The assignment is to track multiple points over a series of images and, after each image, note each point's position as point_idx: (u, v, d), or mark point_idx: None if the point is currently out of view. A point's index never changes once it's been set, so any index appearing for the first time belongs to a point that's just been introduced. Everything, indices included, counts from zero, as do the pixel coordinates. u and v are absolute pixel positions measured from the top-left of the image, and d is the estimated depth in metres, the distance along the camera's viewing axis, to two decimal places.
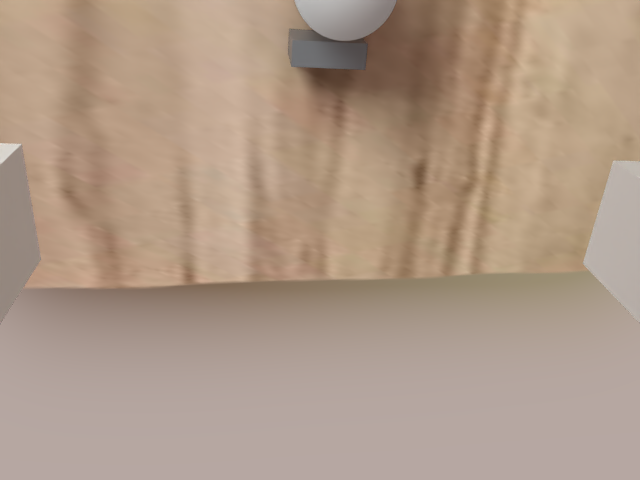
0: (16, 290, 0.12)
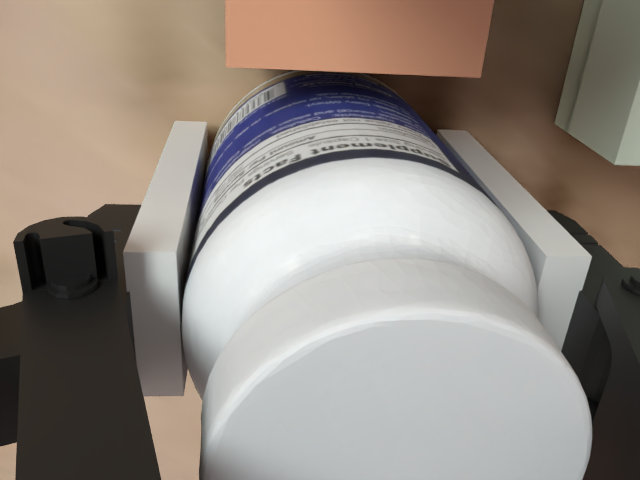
0: None
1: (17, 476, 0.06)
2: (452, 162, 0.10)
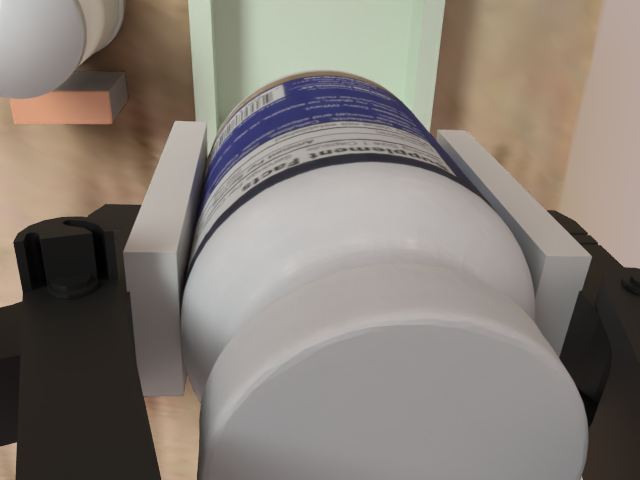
0: None
1: (17, 476, 0.06)
2: (450, 166, 0.10)
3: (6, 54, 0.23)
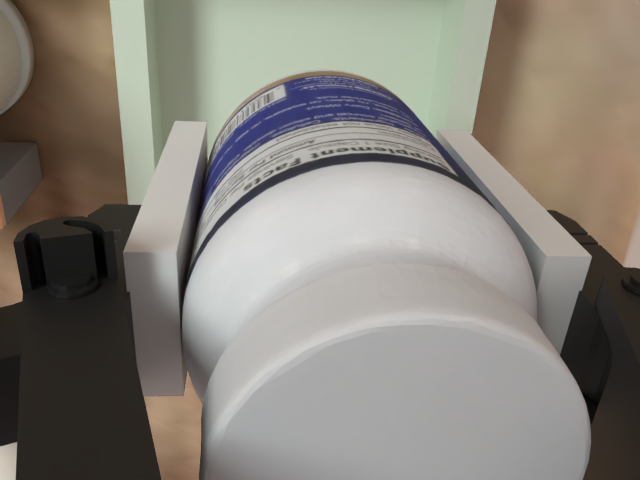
0: None
1: (17, 476, 0.06)
2: (451, 165, 0.10)
3: None
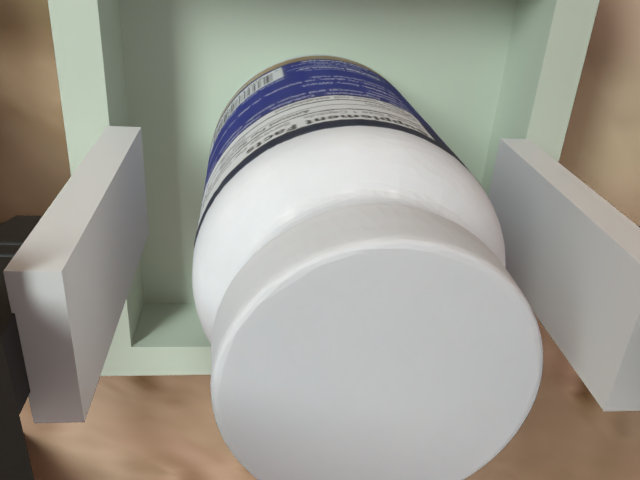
0: (138, 257, 0.14)
1: None
2: (430, 133, 0.11)
3: None
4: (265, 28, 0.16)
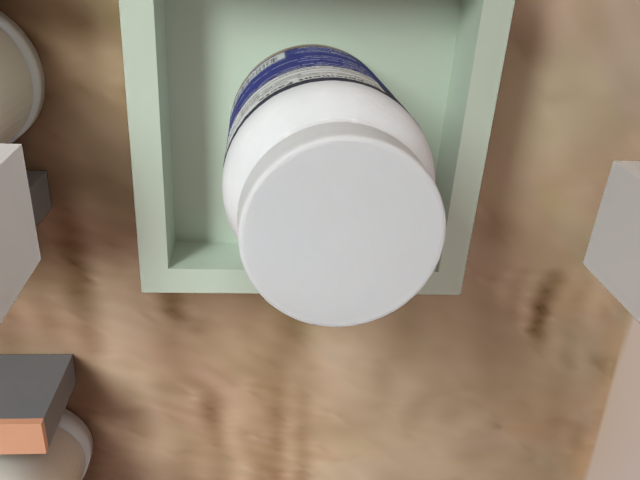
0: (16, 290, 0.12)
1: None
2: (384, 90, 0.16)
3: None
4: (272, 24, 0.21)
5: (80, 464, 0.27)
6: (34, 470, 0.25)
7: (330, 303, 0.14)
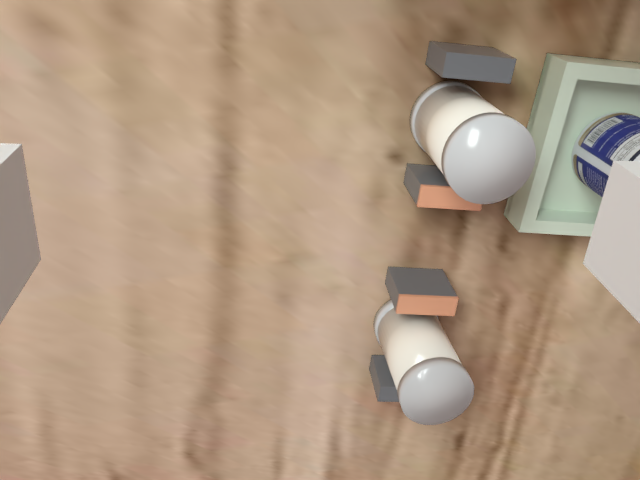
0: (16, 290, 0.12)
1: None
2: None
3: (484, 177, 0.35)
4: (602, 101, 0.42)
5: None
6: (439, 326, 0.46)
7: None
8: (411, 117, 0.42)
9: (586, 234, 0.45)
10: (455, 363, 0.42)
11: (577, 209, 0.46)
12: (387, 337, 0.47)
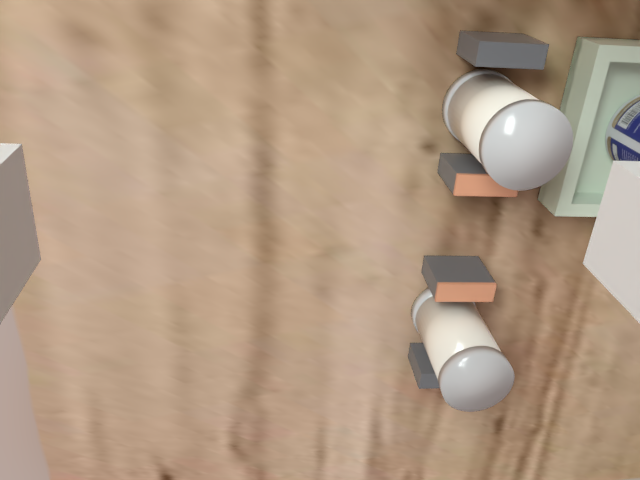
0: (16, 290, 0.12)
1: None
2: None
3: (522, 164, 0.36)
4: (635, 82, 0.42)
5: None
6: (478, 315, 0.47)
7: None
8: (444, 107, 0.42)
9: None
10: (496, 352, 0.42)
11: None
12: (426, 325, 0.47)
